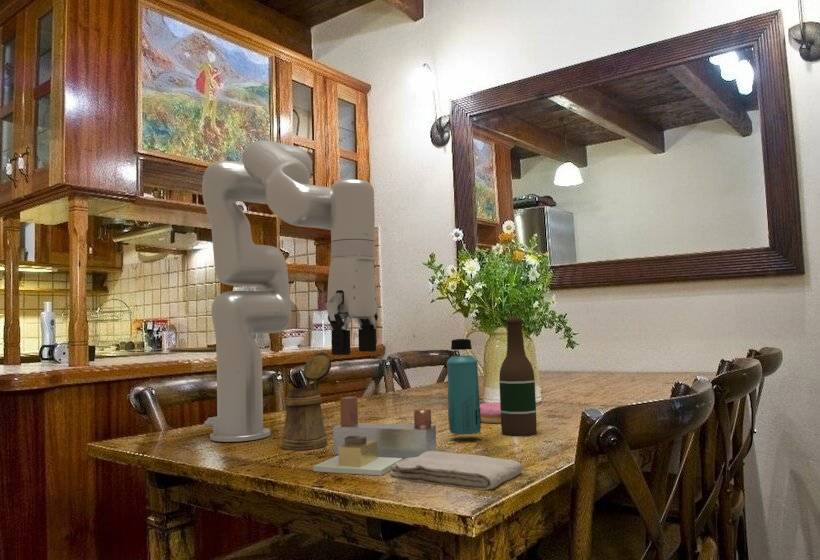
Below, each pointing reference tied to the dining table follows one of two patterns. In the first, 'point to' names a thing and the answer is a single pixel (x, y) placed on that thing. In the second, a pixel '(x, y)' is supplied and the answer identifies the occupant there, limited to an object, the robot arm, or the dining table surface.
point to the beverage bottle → (463, 391)
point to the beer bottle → (517, 385)
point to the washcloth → (457, 470)
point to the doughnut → (490, 412)
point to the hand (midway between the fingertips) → (354, 353)
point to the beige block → (357, 451)
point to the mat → (372, 468)
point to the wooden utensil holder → (306, 409)
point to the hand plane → (387, 432)
